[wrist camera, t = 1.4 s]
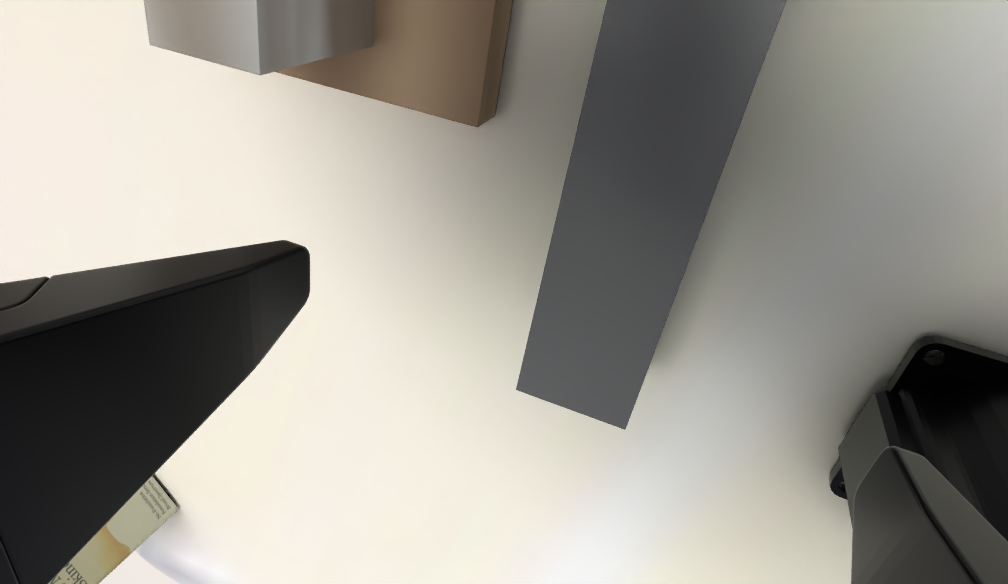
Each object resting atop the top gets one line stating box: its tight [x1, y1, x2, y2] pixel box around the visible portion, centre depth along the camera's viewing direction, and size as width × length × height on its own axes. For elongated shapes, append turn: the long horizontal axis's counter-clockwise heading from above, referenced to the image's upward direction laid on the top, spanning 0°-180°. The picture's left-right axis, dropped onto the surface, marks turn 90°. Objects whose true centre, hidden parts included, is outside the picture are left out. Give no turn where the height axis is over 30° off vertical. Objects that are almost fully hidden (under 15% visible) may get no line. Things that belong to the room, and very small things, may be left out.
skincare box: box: [49, 476, 177, 584], centre depth 32 cm, size 6×4×12 cm
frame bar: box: [516, 0, 786, 429], centre depth 17 cm, size 4×14×4 cm, turn 171°
